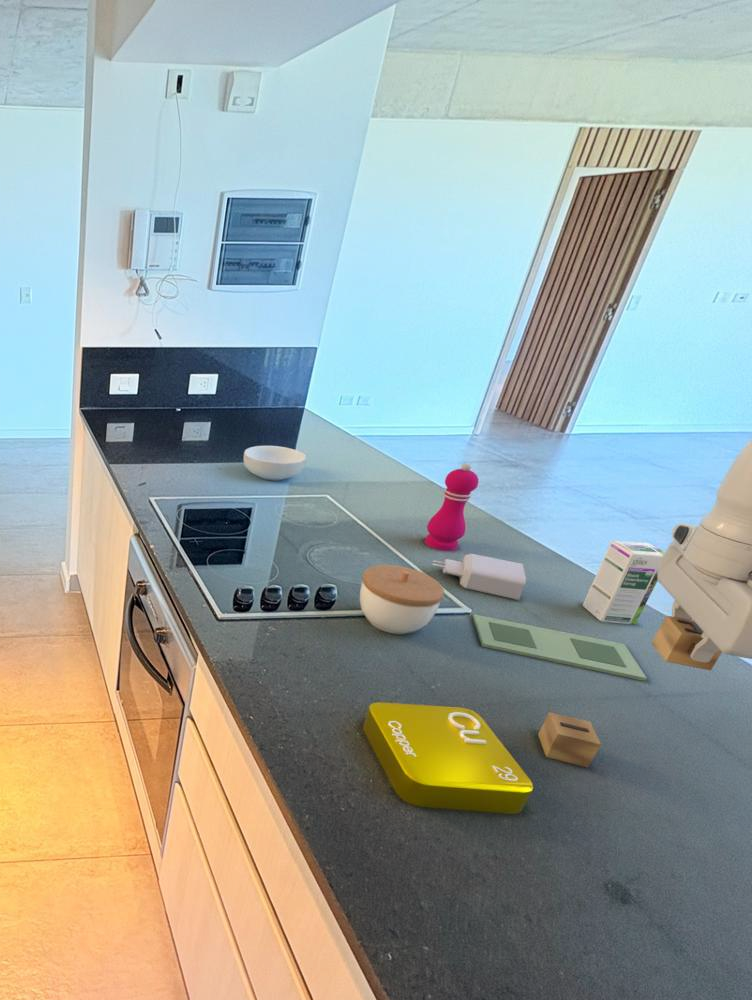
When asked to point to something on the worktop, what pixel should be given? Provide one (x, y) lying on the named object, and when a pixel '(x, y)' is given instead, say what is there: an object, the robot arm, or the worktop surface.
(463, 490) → the pepper mill
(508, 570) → the charger
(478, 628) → the word board
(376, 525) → the worktop surface
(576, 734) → the block
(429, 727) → the element tile
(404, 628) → the lidded bowl
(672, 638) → the block
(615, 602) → the syrup box
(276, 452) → the cereal bowl
